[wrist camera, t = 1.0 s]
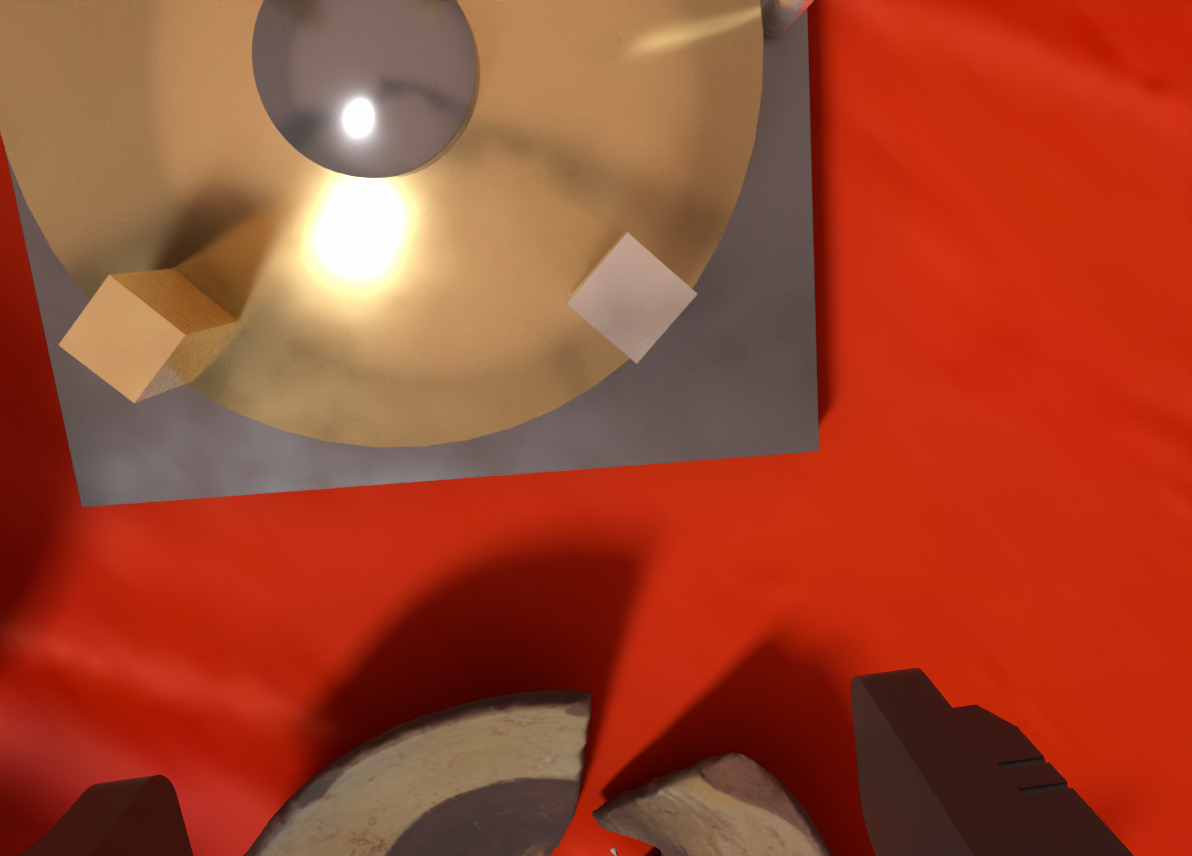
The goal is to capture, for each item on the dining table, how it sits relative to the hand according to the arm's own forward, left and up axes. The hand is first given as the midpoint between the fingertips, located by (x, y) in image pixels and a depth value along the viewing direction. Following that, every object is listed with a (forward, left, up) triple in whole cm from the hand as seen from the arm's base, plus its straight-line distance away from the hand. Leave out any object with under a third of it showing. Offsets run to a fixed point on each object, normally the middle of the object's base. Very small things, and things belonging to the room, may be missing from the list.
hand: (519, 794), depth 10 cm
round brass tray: (+5, -11, -21) cm, 24 cm away
